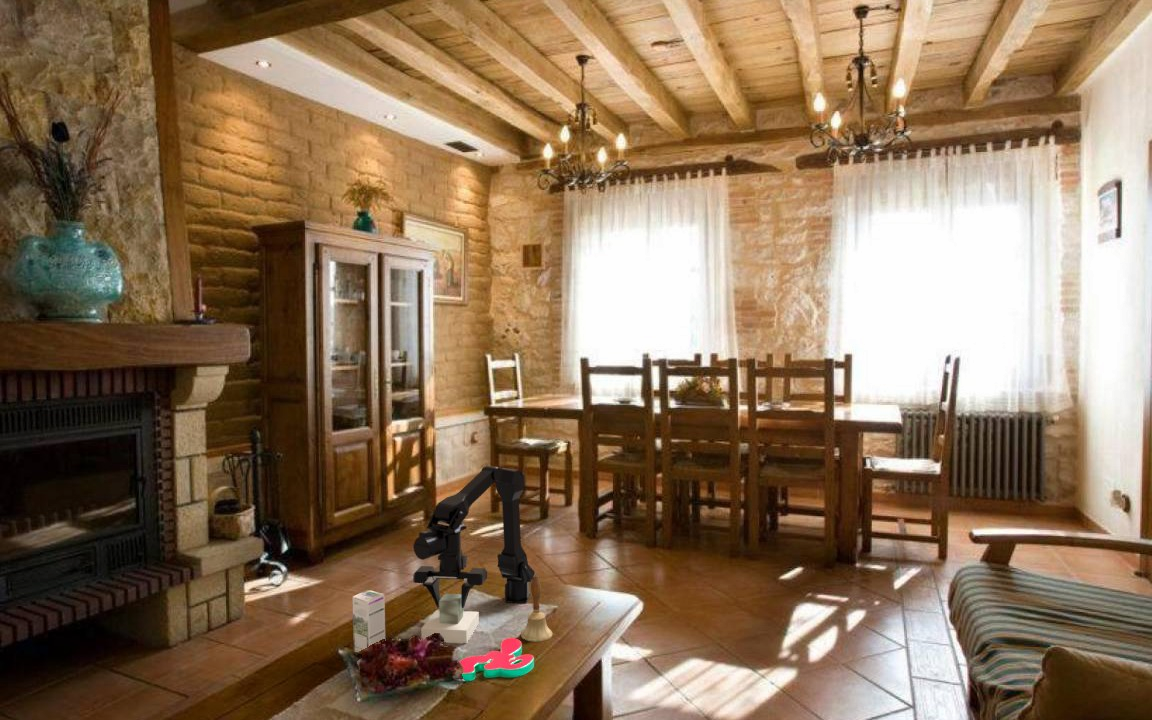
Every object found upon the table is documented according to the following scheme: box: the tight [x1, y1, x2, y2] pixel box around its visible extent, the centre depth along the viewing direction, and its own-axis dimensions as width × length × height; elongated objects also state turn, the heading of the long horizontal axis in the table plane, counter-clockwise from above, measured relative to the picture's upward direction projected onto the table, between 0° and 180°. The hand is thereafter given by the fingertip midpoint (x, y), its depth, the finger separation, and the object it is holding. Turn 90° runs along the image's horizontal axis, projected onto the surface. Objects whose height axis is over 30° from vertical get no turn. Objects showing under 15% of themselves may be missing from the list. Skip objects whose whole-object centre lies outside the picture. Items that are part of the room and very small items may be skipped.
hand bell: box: [520, 574, 553, 643], centre depth 182 cm, size 8×8×16 cm
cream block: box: [420, 609, 480, 644], centre depth 184 cm, size 12×12×4 cm
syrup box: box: [352, 589, 386, 653], centre depth 173 cm, size 6×6×14 cm
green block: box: [438, 593, 464, 624], centre depth 184 cm, size 5×5×6 cm
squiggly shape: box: [458, 637, 535, 682], centre depth 166 cm, size 20×16×2 cm
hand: (450, 607), depth 184 cm, fingers open, 6 cm apart
